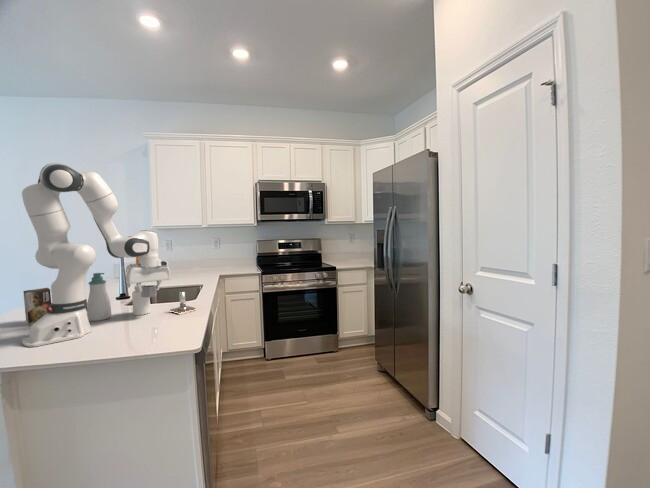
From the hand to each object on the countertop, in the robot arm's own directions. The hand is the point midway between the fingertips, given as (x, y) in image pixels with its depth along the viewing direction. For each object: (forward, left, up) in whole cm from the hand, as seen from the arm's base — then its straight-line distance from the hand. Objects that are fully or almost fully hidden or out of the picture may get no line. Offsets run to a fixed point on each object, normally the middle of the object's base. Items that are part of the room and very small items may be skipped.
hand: (149, 290), depth 159 cm
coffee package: (+56, +130, -14) cm, 142 cm away
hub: (0, 0, -3) cm, 3 cm away
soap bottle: (-15, +20, -14) cm, 28 cm away
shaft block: (+15, -4, -13) cm, 20 cm away
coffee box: (-34, +38, -14) cm, 53 cm away
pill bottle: (+1, +11, -14) cm, 17 cm away
